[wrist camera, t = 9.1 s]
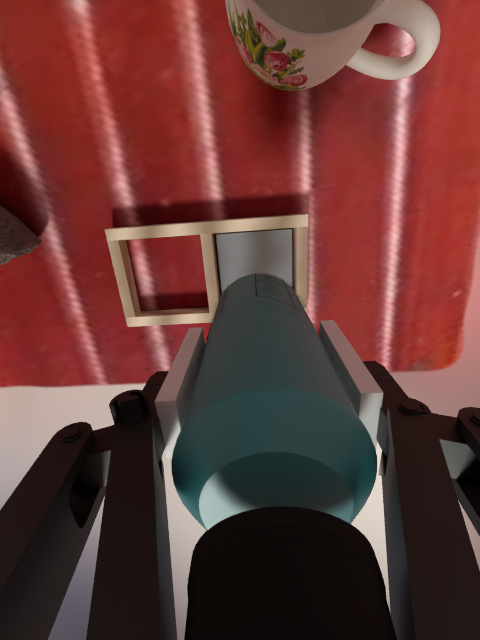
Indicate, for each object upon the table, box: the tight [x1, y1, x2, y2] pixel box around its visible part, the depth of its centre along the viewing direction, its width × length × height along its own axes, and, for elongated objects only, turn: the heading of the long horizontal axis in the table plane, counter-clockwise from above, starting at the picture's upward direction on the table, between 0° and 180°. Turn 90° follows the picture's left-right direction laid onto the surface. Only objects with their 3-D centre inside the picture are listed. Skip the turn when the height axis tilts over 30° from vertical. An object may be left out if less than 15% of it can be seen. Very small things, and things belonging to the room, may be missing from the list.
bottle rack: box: [105, 213, 308, 327], centre depth 34 cm, size 22×11×2 cm, turn 94°
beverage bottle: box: [172, 272, 397, 640], centre depth 14 cm, size 6×7×20 cm
